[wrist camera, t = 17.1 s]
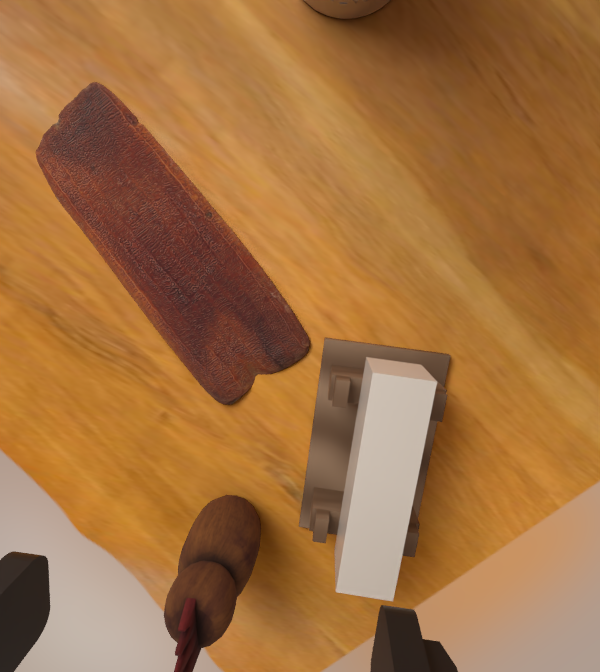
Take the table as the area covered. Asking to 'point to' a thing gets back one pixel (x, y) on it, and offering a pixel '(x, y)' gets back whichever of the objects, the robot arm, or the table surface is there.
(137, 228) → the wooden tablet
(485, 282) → the table surface
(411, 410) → the white rectangular block
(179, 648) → the wooden figurine
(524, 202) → the table surface
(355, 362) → the rack
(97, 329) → the table surface
